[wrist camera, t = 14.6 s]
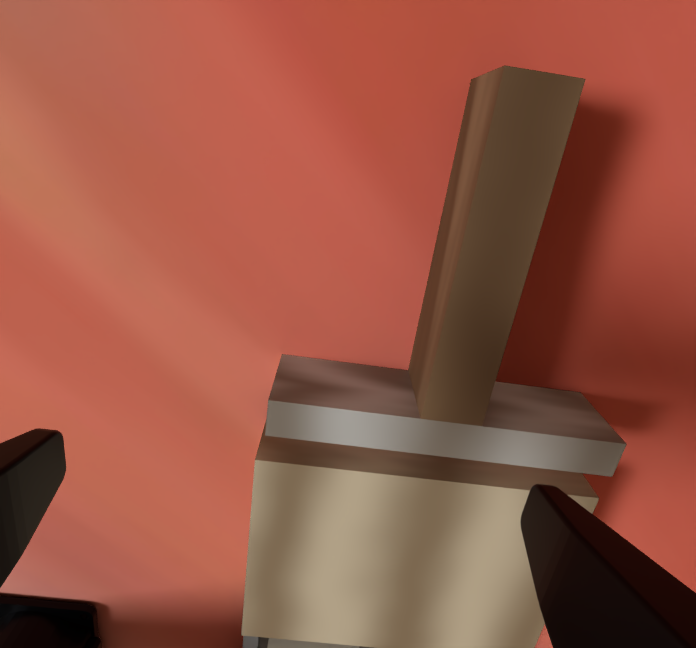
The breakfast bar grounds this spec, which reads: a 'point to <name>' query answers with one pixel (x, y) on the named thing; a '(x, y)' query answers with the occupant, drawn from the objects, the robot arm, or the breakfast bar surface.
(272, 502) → the deck
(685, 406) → the breakfast bar surface
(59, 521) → the breakfast bar surface
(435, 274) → the scraper
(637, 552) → the robot arm
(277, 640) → the tile
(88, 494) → the breakfast bar surface
